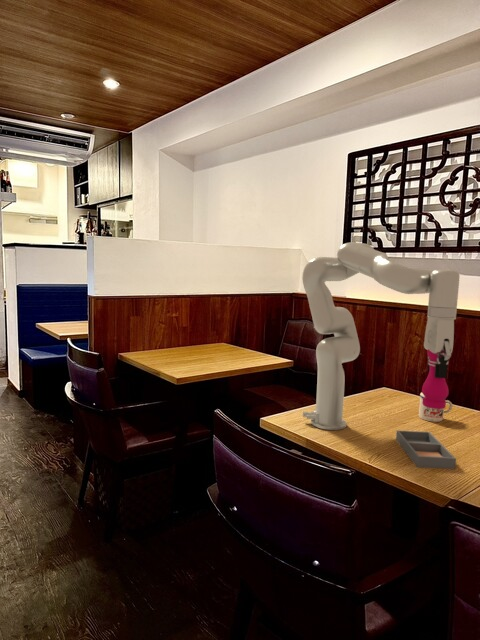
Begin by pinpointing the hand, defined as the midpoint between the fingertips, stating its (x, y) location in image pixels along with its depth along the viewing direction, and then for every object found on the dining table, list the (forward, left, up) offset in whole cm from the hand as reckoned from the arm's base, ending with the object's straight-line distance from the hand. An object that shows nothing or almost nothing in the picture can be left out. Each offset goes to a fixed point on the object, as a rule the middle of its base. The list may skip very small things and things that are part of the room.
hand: (436, 374), depth 132 cm
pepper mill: (0, 0, -10) cm, 10 cm away
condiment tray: (0, +5, -26) cm, 27 cm away
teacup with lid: (+16, +39, -26) cm, 50 cm away
